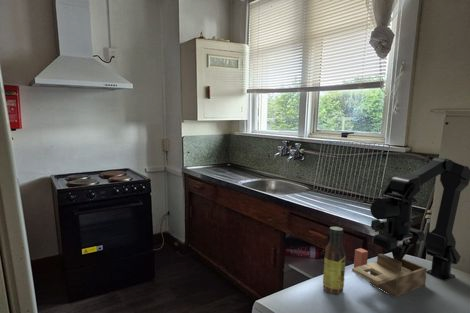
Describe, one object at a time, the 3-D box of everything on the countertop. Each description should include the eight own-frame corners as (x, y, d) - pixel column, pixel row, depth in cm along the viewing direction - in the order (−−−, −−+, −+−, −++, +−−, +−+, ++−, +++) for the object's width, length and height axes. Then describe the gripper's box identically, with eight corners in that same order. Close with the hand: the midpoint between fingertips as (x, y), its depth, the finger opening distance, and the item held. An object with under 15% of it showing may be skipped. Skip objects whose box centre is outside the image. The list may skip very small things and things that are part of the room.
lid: (384, 261, 103) (385, 250, 102) (410, 273, 95) (411, 261, 94) (352, 271, 95) (352, 259, 95) (377, 284, 87) (378, 271, 87)
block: (359, 269, 110) (361, 248, 109) (366, 273, 107) (368, 251, 106) (353, 270, 109) (355, 249, 108) (360, 274, 106) (362, 252, 105)
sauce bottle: (344, 296, 92) (349, 233, 90) (323, 293, 93) (327, 231, 91) (341, 285, 98) (345, 226, 96) (321, 283, 99) (325, 224, 97)
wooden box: (399, 273, 108) (400, 257, 107) (425, 285, 100) (426, 268, 99) (369, 283, 100) (370, 266, 99) (394, 297, 92) (396, 278, 91)
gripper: (395, 206, 108) (392, 248, 110) (359, 213, 99) (356, 258, 101) (427, 215, 98) (423, 261, 100) (391, 223, 90) (387, 273, 91)
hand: (396, 262), depth 98 cm, fingers closed
